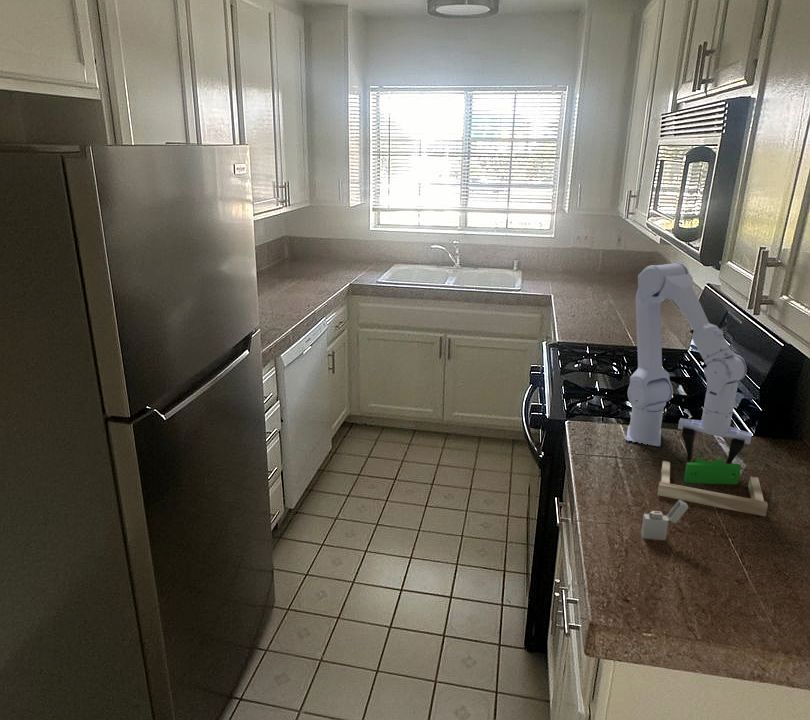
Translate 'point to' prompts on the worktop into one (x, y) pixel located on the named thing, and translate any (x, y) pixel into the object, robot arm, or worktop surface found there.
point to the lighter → (661, 521)
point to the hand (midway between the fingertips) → (707, 463)
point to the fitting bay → (714, 495)
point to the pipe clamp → (711, 472)
